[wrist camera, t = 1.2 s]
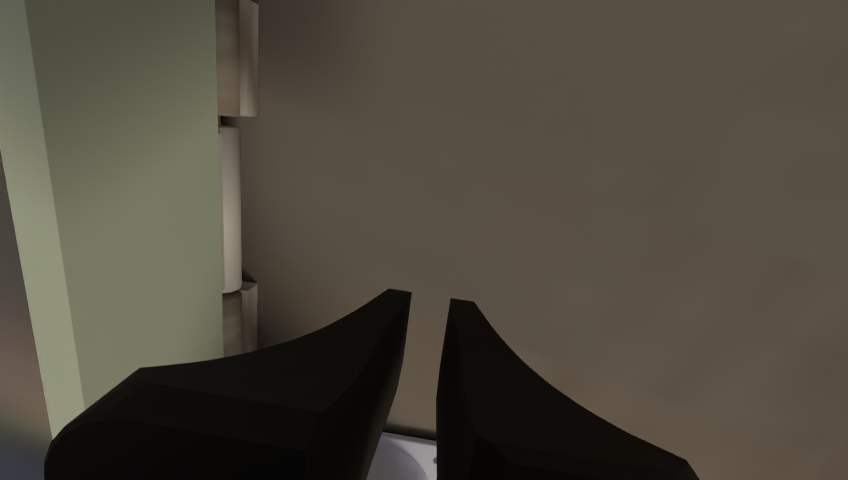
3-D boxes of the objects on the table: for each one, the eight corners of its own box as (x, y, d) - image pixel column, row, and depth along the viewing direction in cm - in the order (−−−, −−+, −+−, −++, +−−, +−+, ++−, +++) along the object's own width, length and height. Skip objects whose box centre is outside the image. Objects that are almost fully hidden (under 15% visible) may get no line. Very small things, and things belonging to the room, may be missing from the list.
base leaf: (257, 362, 23) (232, 392, 21) (65, 330, 24) (18, 355, 21) (258, -1, 18) (225, -20, 15) (9, -31, 18) (-62, -53, 16)
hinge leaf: (217, 368, 22) (247, 371, 22) (64, 558, 13) (116, 564, 13) (205, -13, 17) (246, -7, 17) (-74, -165, 7) (18, -152, 7)
